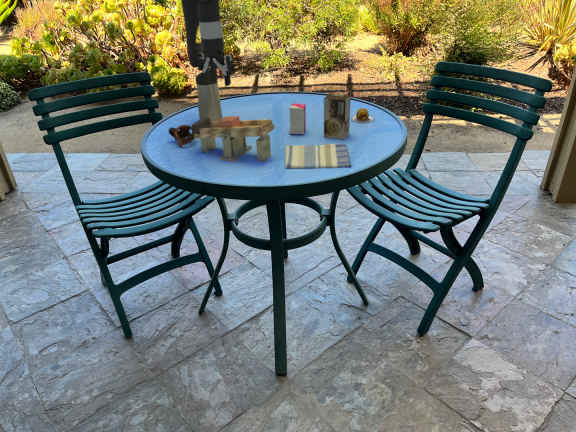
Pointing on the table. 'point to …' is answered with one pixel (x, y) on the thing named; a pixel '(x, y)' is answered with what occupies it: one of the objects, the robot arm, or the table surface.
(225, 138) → the stand
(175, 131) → the pottery mug
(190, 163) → the table surface
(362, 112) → the hamburger
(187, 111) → the table surface
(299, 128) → the supplement box
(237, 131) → the beam
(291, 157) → the dish towel
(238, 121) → the block
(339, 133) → the coffee box
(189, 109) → the table surface
